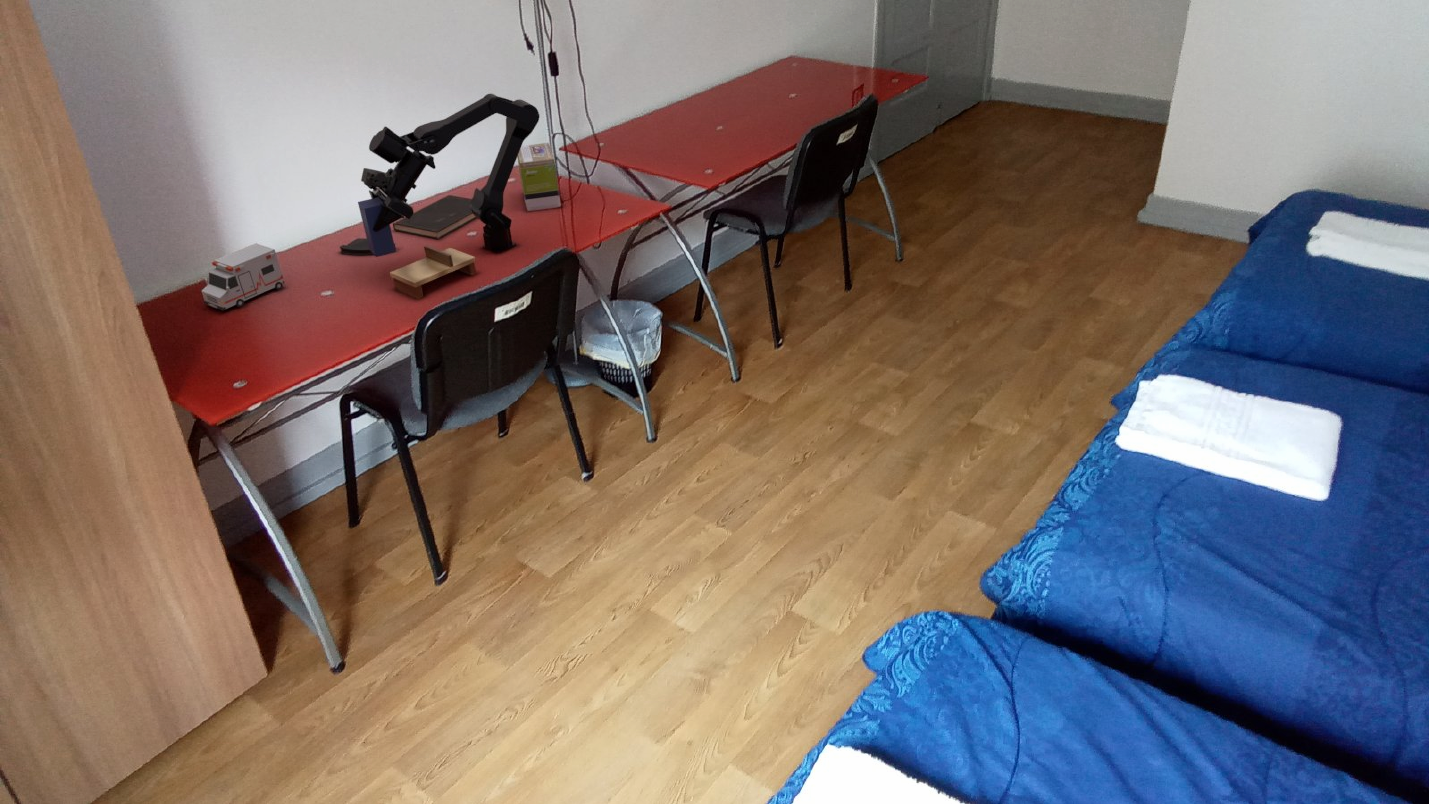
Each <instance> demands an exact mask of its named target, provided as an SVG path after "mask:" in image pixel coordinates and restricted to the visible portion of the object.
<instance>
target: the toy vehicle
mask: <svg viewBox="0 0 1429 804" xmlns="http://www.w3.org/2000/svg"><path fill="white" fill-rule="evenodd" d="M211 264H212V266H214V267H216V268H213V269H211V270H209V271H208V277H205V278H204V281H205V284H206V286H205V287H204V288H203V289H201V294H202V298H203V304H205V305H208V306H209V307H212V308H215V309H218V310H220V311H225V310H227V309H229V308H232V307H234V306H236V307H238V308H243V306H244V305H245V301H248V300H249V299H252V298H254V297H257V296H259V295H261V294H264V293H265V292H267V291H270V290H273V289H275V290H278V291H281V290H282V289H283V286H284V284H285V279H284V276H283V273H282V269H281V266H280V262H279V260H278V256H277V252H276V249H275V248H272V247H268V246H265V245H263V244H259V243H257V242H255V243H253V244H250V245H248V246H245V247H243V248H241V249H237V250H235V251H233V252H230V253H228V254H226V255H223V256H221V257H218V258H216V259H213V261H212V262H211Z"/></svg>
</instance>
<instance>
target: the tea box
mask: <svg viewBox="0 0 1429 804" xmlns="http://www.w3.org/2000/svg"><path fill="white" fill-rule="evenodd" d="M517 163H518V169H519V170H518V171H519V175H520V181H521V187H522V192H523V198H524V199H523V200H524V203H525V207H526V212H534V211H542V210H550V209H555V208H556V209H557V208H562V207H561V206H562V203H561V197H560V190H559V189H560V188H559V181H558V175H557V167H556V161H555V157H554V154H553V152H552V148H551V145H550V143H549V142H542V143H534V144H528V145H522V146H521V148H520V151H519V154H518V156H517Z"/></svg>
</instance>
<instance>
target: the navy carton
mask: <svg viewBox="0 0 1429 804" xmlns="http://www.w3.org/2000/svg"><path fill="white" fill-rule="evenodd" d="M380 201H381V200H380V199H379V198H378V197H377V198H373V199H371V198H369V199H365V200H360V201H358V202H357V204H358V208H359V213H360V216H361V221H362V225H363V228H364V233H365V237H366V238H367V241H368V245H369V249H370V251H371V252H372V253H373V254H372V255H374V257H375V258H377V257H378V258H379V257H382V256H386V255H389V254H394V253H397V249H396V250H395V248H396V244H395V241H394V236H393V232H392V228H391V224H390V225H388V226H386V227H385V228H383V229H381V230H379V231H378V232H375V231H374V230H373V227H374V225H375V223H376V221H377V219H378V217H379V214H380V212H381V210H382V209H381V204H380ZM381 202H382V201H381ZM382 203H384V202H382ZM384 204H385V203H384ZM394 244H395V245H394Z"/></svg>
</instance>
